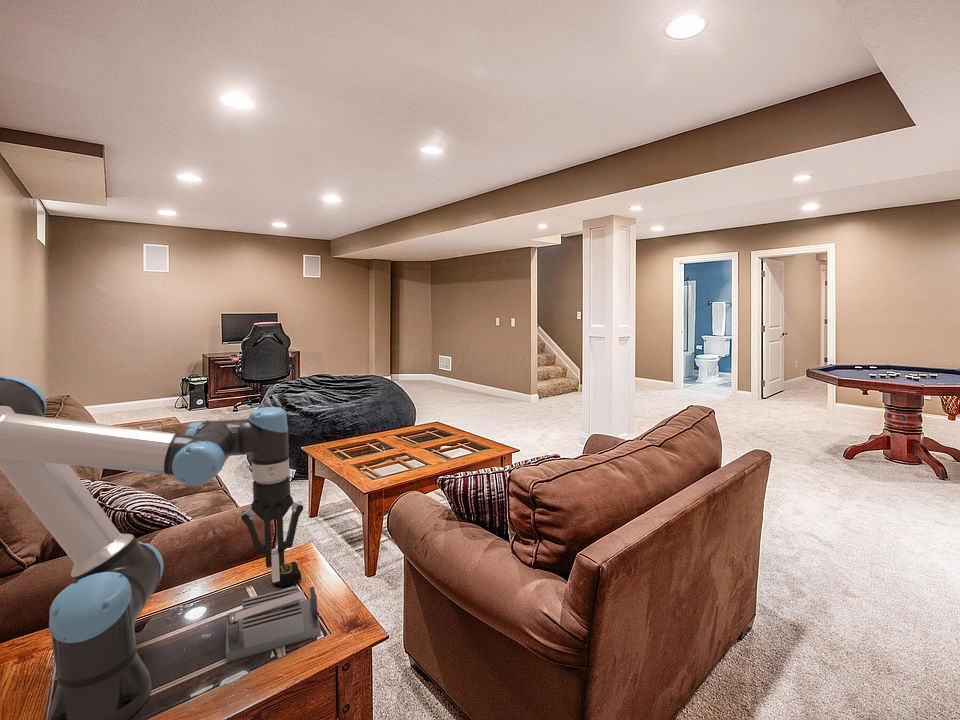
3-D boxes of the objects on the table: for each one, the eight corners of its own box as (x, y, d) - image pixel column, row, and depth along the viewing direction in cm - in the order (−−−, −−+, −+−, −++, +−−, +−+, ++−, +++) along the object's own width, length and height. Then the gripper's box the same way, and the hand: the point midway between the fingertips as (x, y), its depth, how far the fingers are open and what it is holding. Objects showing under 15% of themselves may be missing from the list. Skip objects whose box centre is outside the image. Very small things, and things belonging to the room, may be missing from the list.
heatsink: (226, 662, 103) (223, 631, 102) (227, 627, 114) (225, 599, 113) (320, 635, 112) (319, 606, 111) (313, 605, 122) (312, 578, 121)
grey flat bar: (229, 627, 107) (228, 621, 107) (229, 619, 110) (228, 613, 110) (305, 601, 114) (304, 596, 114) (303, 594, 116) (302, 589, 116)
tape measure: (302, 584, 131) (301, 571, 131) (274, 591, 128) (273, 578, 128) (298, 571, 137) (297, 559, 137) (271, 578, 134) (270, 565, 134)
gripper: (238, 489, 102) (244, 595, 106) (304, 479, 108) (308, 580, 111) (238, 476, 109) (243, 577, 112) (300, 468, 115) (304, 564, 118)
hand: (275, 578), depth 112 cm, fingers closed
